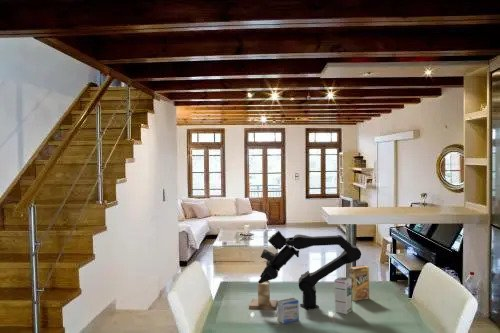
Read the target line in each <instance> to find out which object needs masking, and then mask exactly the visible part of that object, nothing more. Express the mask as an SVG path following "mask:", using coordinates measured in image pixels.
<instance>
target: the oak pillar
mask: <svg viewBox="0 0 500 333" xmlns="http://www.w3.org/2000/svg"><path fill="white" fill-rule="evenodd" d="M270 285H271V284H270V280H269V281H266V282H263V283H260V284H259V283H257V299H258V305H269V303H270V300H271V299H270V297H271V295H270V294H271V293H270V291H271V290H270V288H271V286H270Z"/></svg>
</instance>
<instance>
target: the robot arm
mask: <svg viewBox="0 0 500 333" xmlns="http://www.w3.org/2000/svg"><path fill="white" fill-rule="evenodd" d="M267 242H269V244H270V245H271V246H272V247H273V248H274V249H276V250H279V251H278V252H276V253H273V252H272V251H270V250H267V249H263V250H262V252H261V254H260V258H261V259H264V260H266V263H265V264H266V266H265V267H264V269H263V271H262V272H261V274H260V275H259V277H260V278H259V279H258V281H257V282H258V283H259V284H260V283H263V282H266V281H269V282H270V281H272V280H276V279H277V278H278V276H279V272H280V271H281V269H282V268H283V267H284V266H286V265H287V263H288V262H289V261H290V260H291V259H293V257H294V256H296V257H297V258H299V257H300V250H303V249H308V248H310V247H315V246H316V247H318V246H339V247H340V248H341V249H342V250H343V251H342V252H341V253H340V255H338V256H337V257H335V258H334V259H333V260H331V261H329V262H328V263H326V264H324V265H323V266H321V267H320V268H318V269H317V270H315V271H313V272H310V270H307V271H306V272H304V273H303V274H301V275H300V277H299V278H298V283H297V284H298V288H299V290H300V291H301V292H302V303H300V304H299V306H301V307H302V308H303V309H306V310H312V309H317V308H320V306H319V305H318V304H317V289H316V285H317V283H318V282H319V281H321V280H322V279H324V278H326V277H327V276H329V275H330V274H331V273H333V272H334V271H336V270H338V269H339V268H341V267H342V266H344V265H347V264H352V263H354V262H356V261H358V260H359V259H361V256H362V251H361V250H360V249H359V247H358V246H357V245H355V244H352V243H350V242H349V241H348V240H346V239H345V238H344V237H343V236H342V235H341V234H338V235H321V236H309V235H305V234H295V235H294V236H292V237H285V236H284V235H283V234H282V232H281V231H280V230H277V231H276V232H274V234H272V235H271V236H270V237H269V238H268V240H267ZM258 283H257V284H258Z"/></svg>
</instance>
